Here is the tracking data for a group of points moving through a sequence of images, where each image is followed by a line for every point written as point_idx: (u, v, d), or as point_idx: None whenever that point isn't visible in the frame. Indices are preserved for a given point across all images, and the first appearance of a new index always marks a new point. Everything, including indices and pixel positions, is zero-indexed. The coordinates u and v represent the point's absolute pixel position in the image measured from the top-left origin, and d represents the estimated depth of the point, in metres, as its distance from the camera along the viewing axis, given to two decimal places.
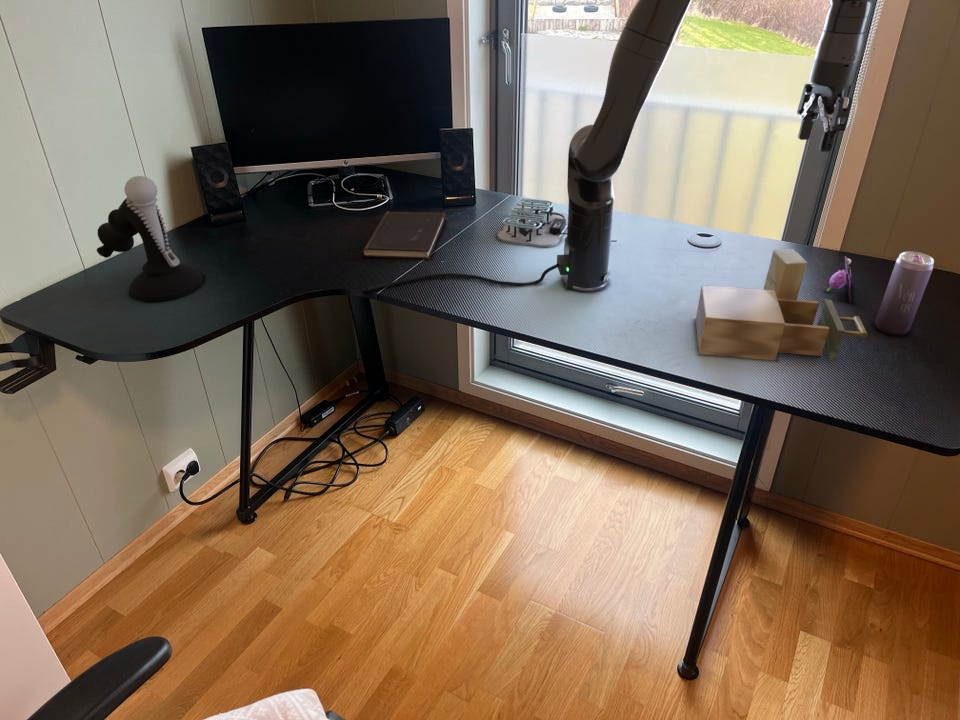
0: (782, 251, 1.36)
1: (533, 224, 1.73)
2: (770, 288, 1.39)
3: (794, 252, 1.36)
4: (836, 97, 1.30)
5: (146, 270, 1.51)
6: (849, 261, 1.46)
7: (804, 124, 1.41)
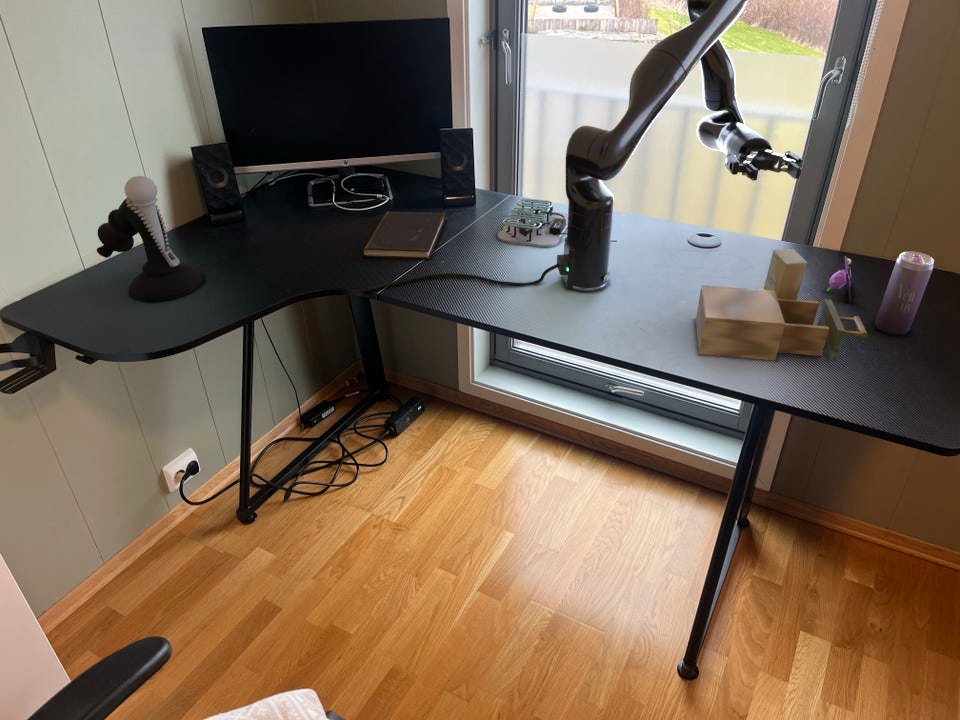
0: (782, 251, 1.36)
1: (533, 224, 1.73)
2: (770, 288, 1.39)
3: (794, 252, 1.36)
4: None
5: (146, 270, 1.51)
6: (849, 261, 1.46)
7: None
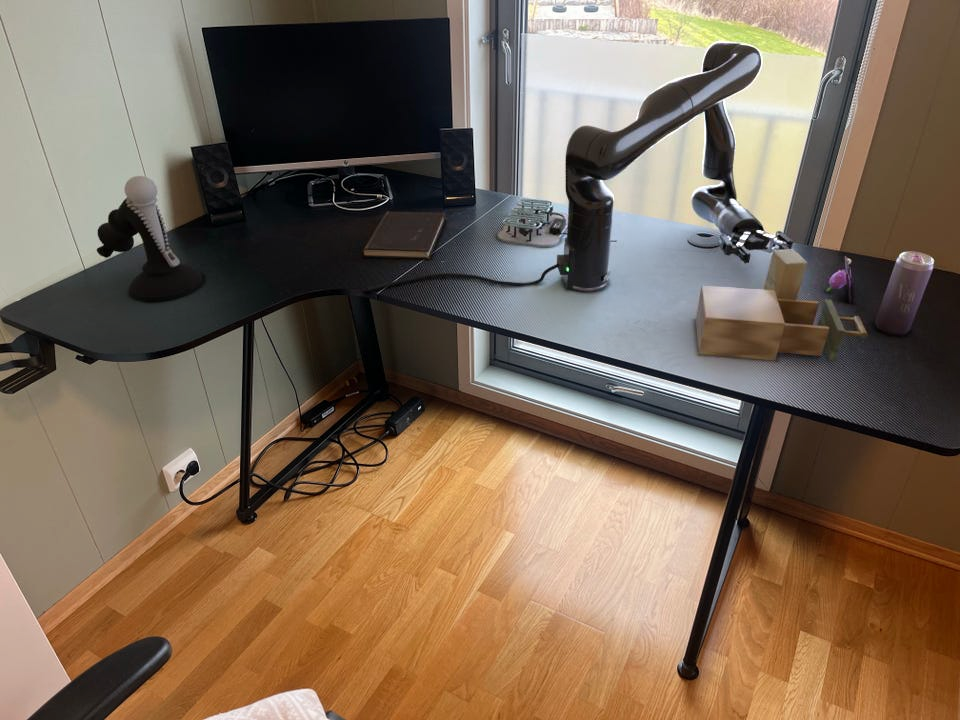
0: (782, 251, 1.36)
1: (533, 224, 1.73)
2: (770, 288, 1.39)
3: (794, 252, 1.36)
4: None
5: (146, 270, 1.51)
6: (849, 261, 1.46)
7: None
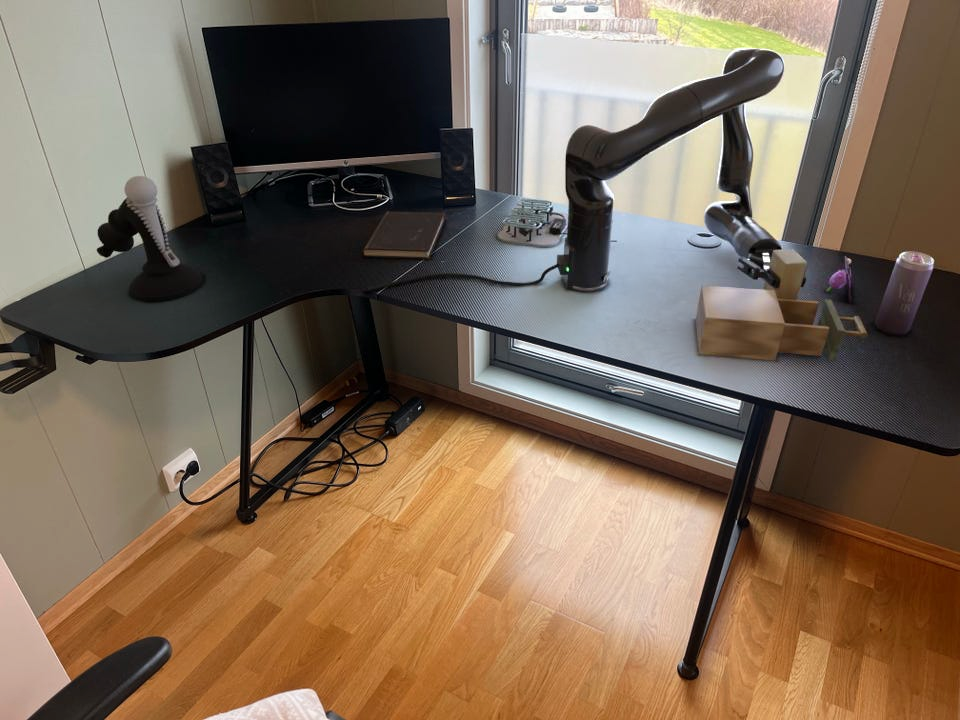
0: (782, 251, 1.36)
1: (533, 224, 1.73)
2: (770, 288, 1.39)
3: (794, 252, 1.36)
4: None
5: (146, 270, 1.51)
6: (849, 261, 1.46)
7: None
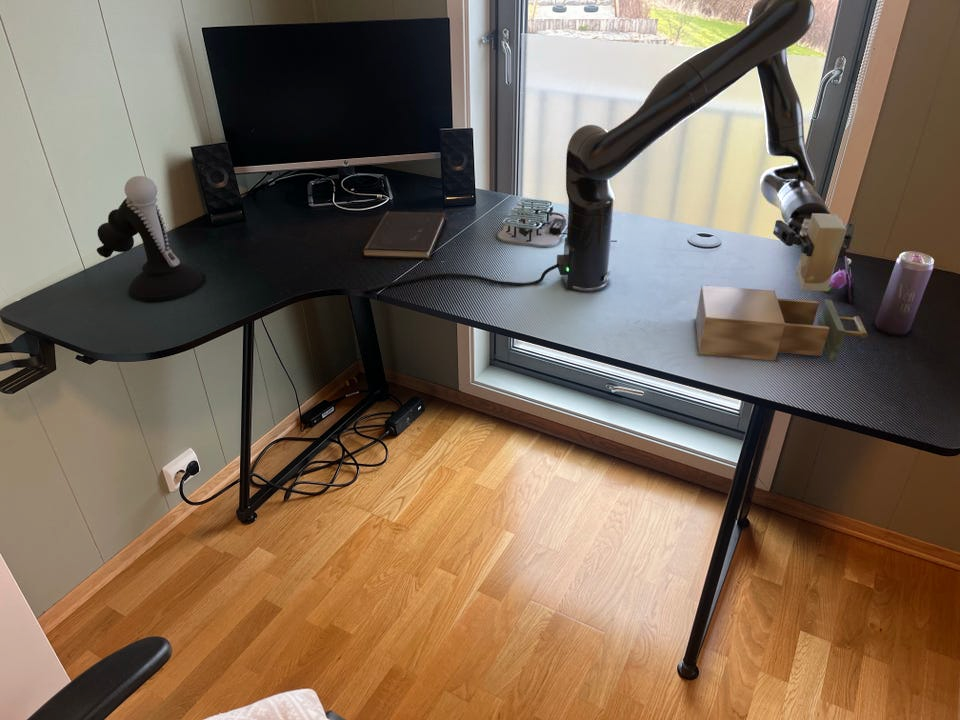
0: (822, 215, 1.20)
1: (533, 224, 1.73)
2: (804, 257, 1.23)
3: (836, 217, 1.19)
4: None
5: (146, 270, 1.51)
6: (849, 261, 1.46)
7: None
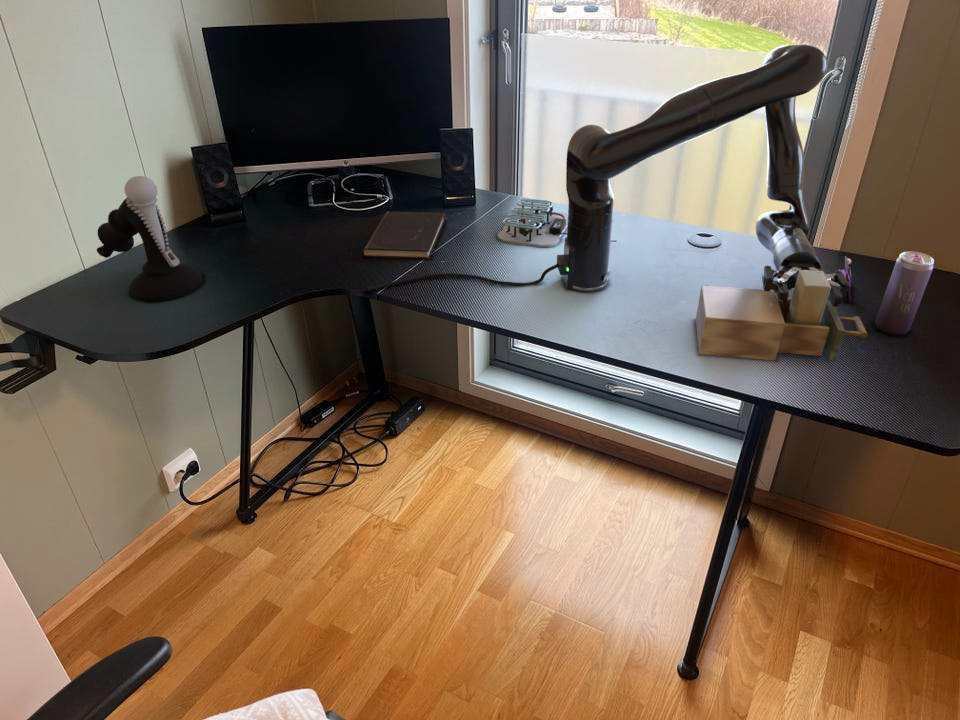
0: (809, 272, 1.25)
1: (533, 224, 1.73)
2: (792, 311, 1.28)
3: (822, 274, 1.24)
4: None
5: (146, 270, 1.51)
6: (849, 261, 1.46)
7: None
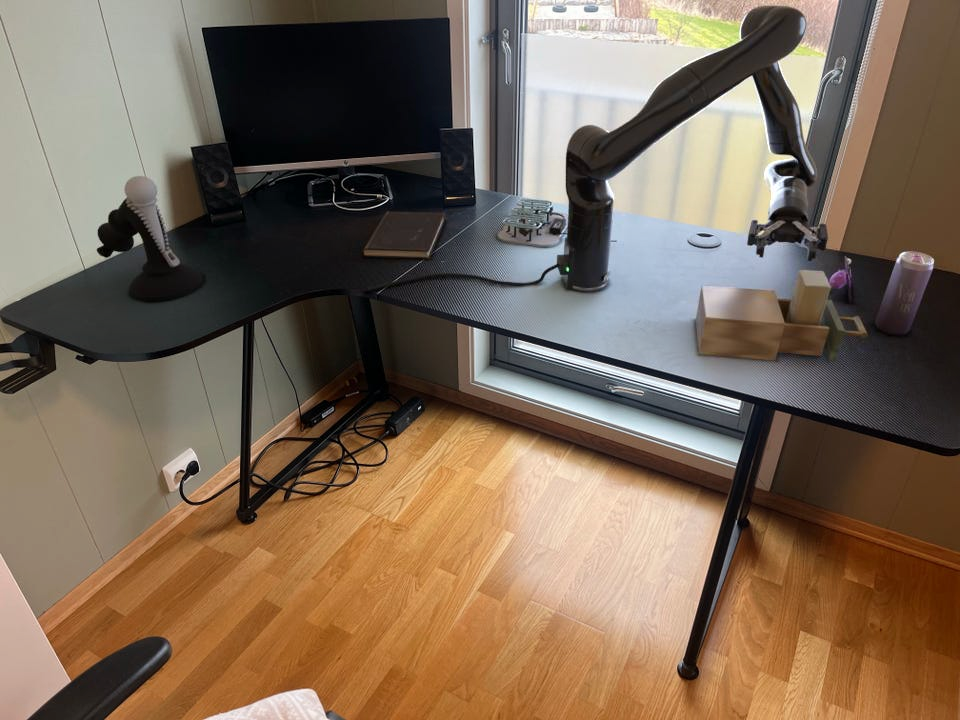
0: (809, 272, 1.25)
1: (533, 224, 1.73)
2: (792, 311, 1.28)
3: (822, 274, 1.24)
4: None
5: (146, 270, 1.51)
6: (849, 261, 1.46)
7: (764, 242, 1.35)
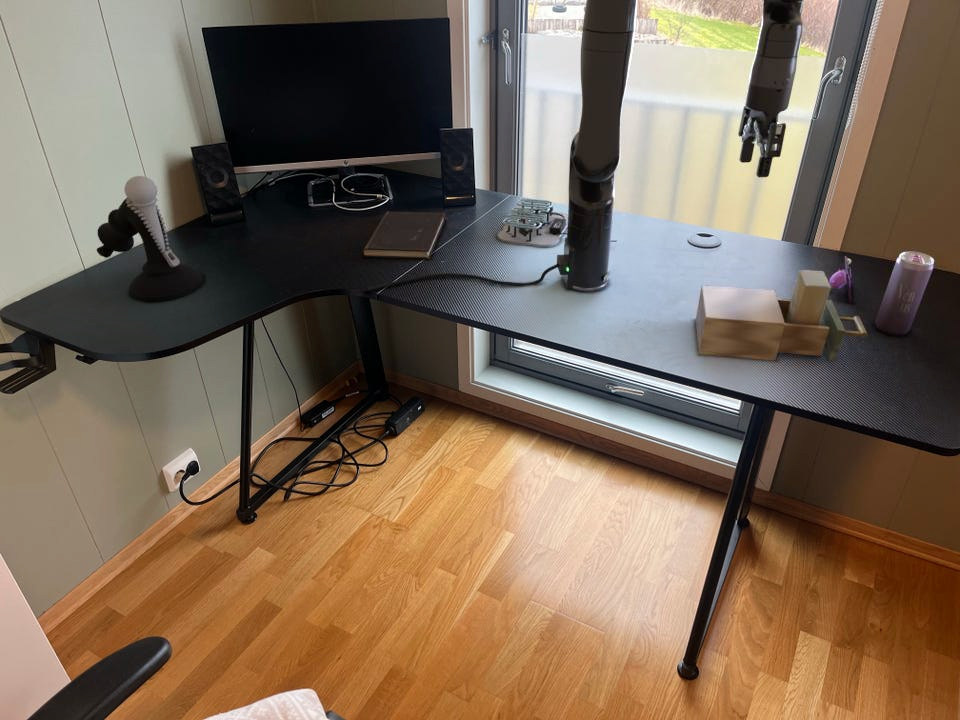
0: (809, 272, 1.25)
1: (533, 224, 1.73)
2: (792, 311, 1.28)
3: (822, 274, 1.24)
4: (770, 122, 1.26)
5: (146, 270, 1.51)
6: (849, 261, 1.46)
7: (744, 147, 1.37)
